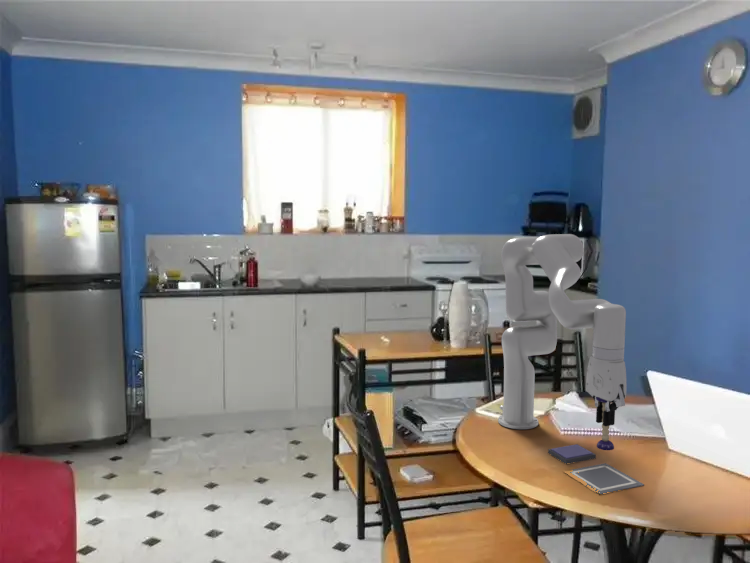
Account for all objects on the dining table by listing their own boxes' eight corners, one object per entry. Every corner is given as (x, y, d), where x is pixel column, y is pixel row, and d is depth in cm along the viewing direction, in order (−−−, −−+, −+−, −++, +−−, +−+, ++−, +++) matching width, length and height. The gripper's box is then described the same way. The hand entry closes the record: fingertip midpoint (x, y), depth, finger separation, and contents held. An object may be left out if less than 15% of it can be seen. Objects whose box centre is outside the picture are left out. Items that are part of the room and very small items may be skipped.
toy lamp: (611, 452, 162) (613, 388, 160) (592, 449, 164) (594, 385, 162) (615, 446, 166) (617, 383, 164) (597, 442, 168) (598, 380, 166)
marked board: (563, 472, 170) (563, 470, 170) (605, 464, 175) (605, 462, 175) (599, 495, 157) (599, 493, 157) (644, 485, 162) (644, 484, 162)
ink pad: (548, 453, 183) (548, 448, 183) (576, 448, 186) (577, 443, 186) (565, 464, 175) (566, 458, 175) (595, 458, 179) (595, 453, 179)
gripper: (575, 347, 168) (573, 415, 170) (618, 362, 153) (615, 436, 156) (598, 345, 171) (596, 412, 173) (643, 359, 156) (639, 432, 158)
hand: (605, 423), depth 164 cm, fingers closed on toy lamp
